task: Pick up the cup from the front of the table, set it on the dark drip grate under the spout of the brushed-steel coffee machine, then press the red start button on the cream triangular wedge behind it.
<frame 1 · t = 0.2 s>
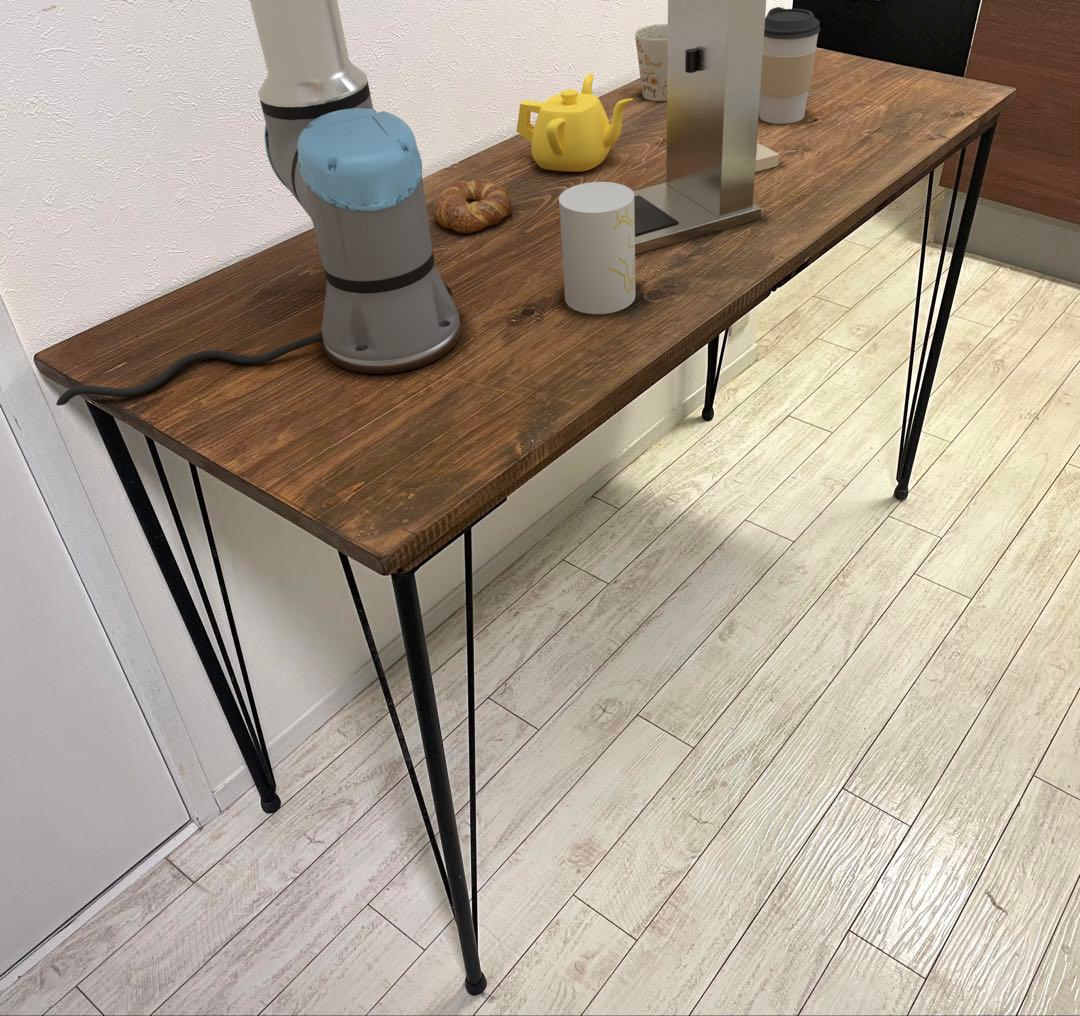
mug: (673, 95, 170), on the table
teapot: (578, 160, 151), on the table
cream triangular wedge: (732, 165, 145), on the table
start button: (733, 137, 142), point 4 cm above the table, slide at 0.1 cm
coffee machine: (671, 216, 133), on the table
pretzel: (473, 218, 137), on the table
coffee cup: (781, 117, 158), on the table
cup: (600, 298, 118), on the table
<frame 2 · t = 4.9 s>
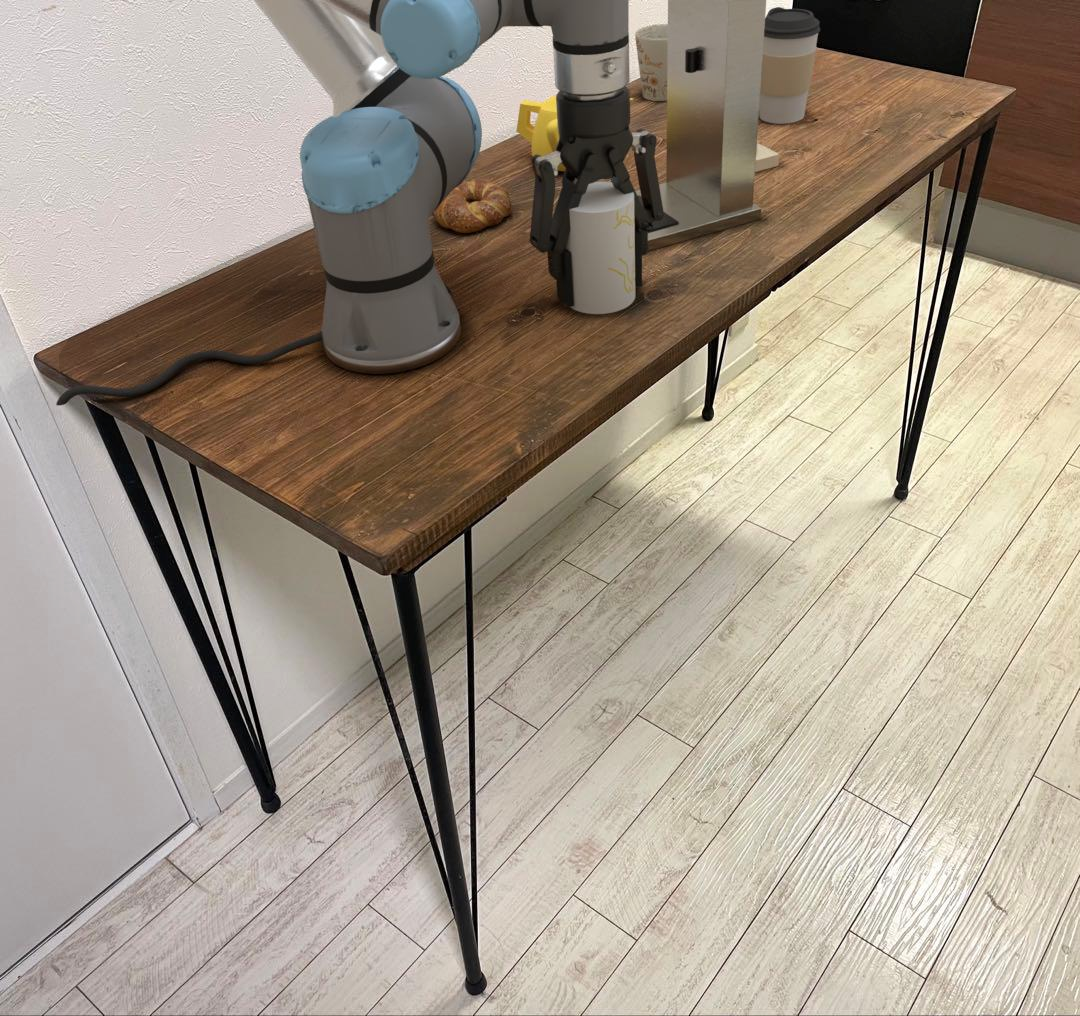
hand: (599, 291, 117), 1 cm above the table, tool pointing down, fingers closed on cup, 8 cm apart
cup: (600, 298, 118), on the table, touching gripper
everything else where it was.
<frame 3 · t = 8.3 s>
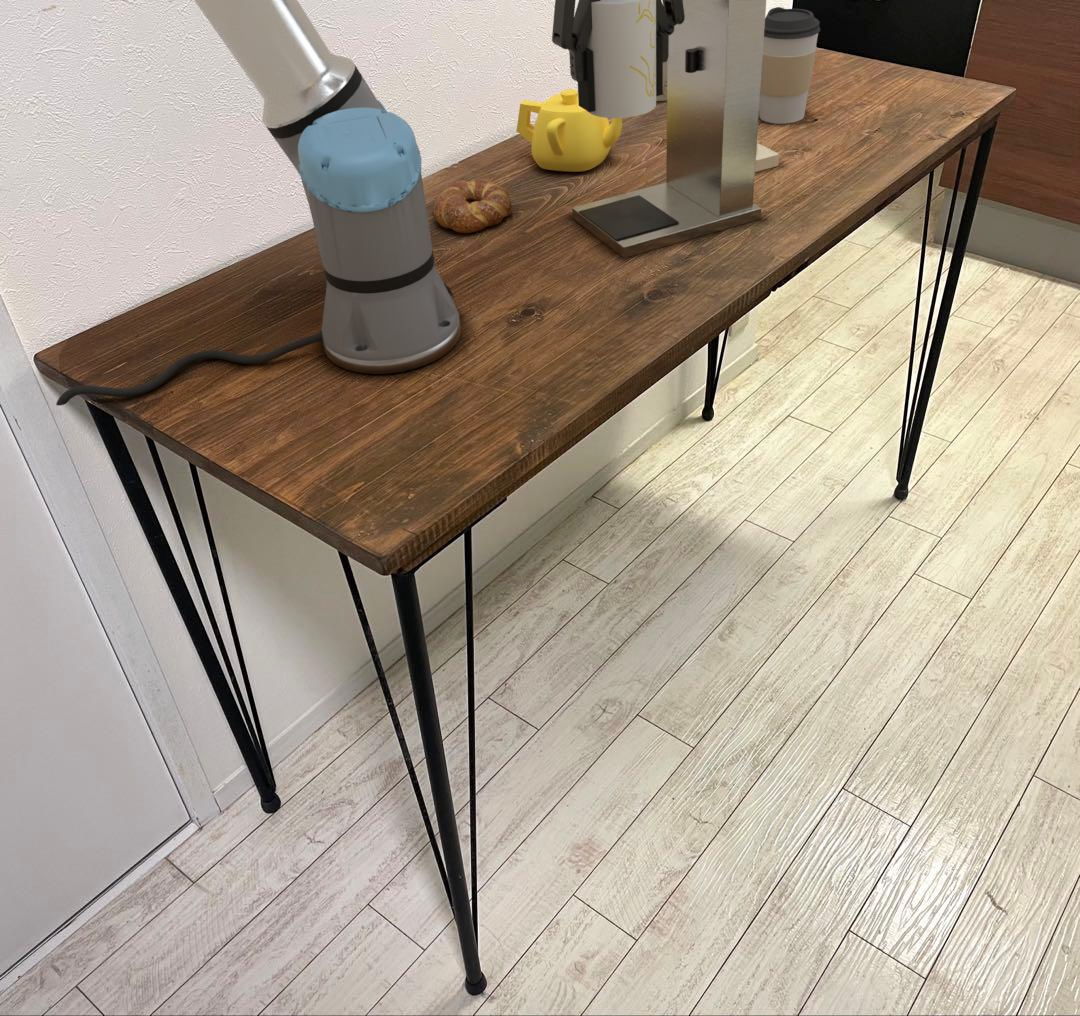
hand: (620, 100, 118), 17 cm above the table, tool pointing down, fingers closed on cup, 8 cm apart
cup: (621, 107, 119), point 16 cm above the table, touching gripper
everything else where it was.
when the fingers open (2 cm above the table, at t = 12.0 s): cup stays where it is, resting on coffee machine.
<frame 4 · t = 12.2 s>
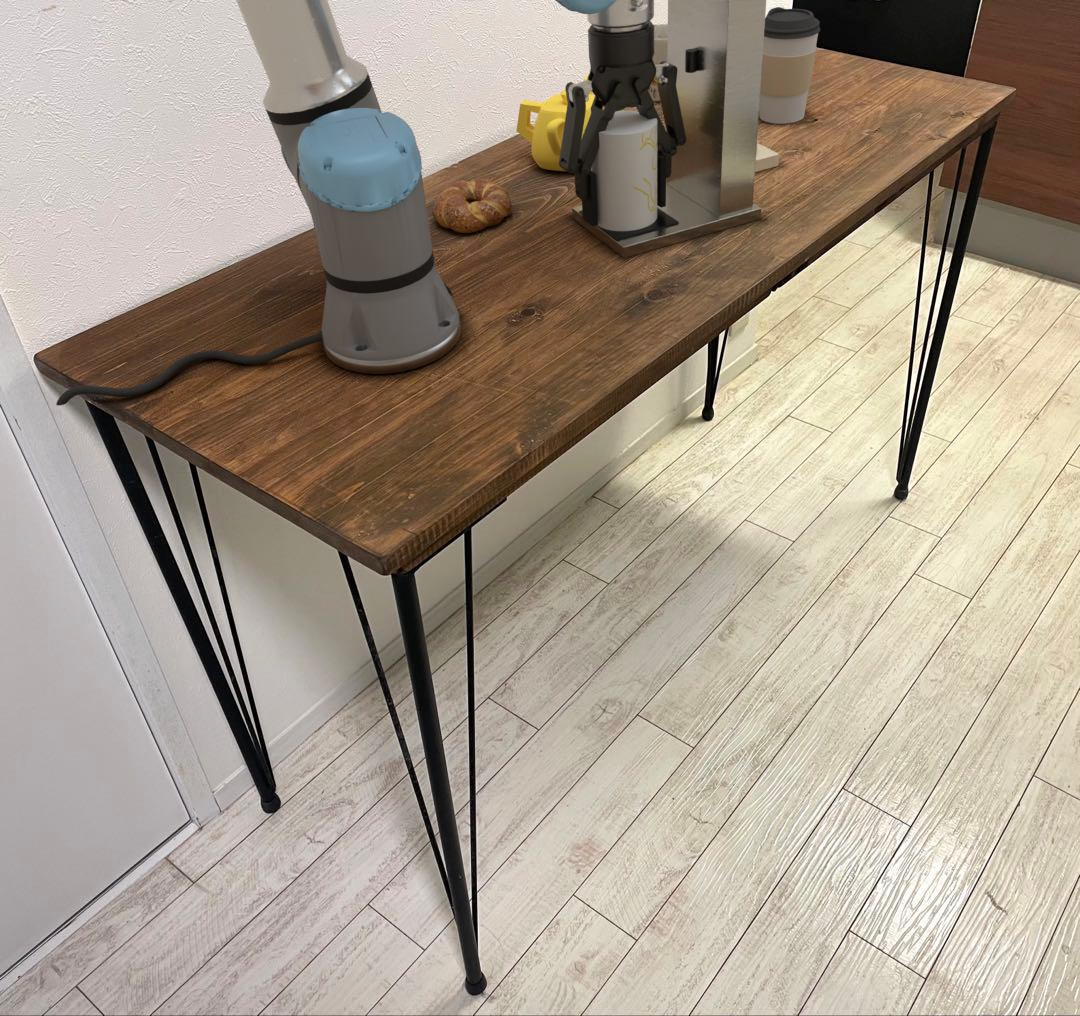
hand: (624, 212, 129), 2 cm above the table, tool pointing down, fingers open, 9 cm apart
cup: (625, 218, 130), point 2 cm above the table, touching coffee machine
everything else where it was.
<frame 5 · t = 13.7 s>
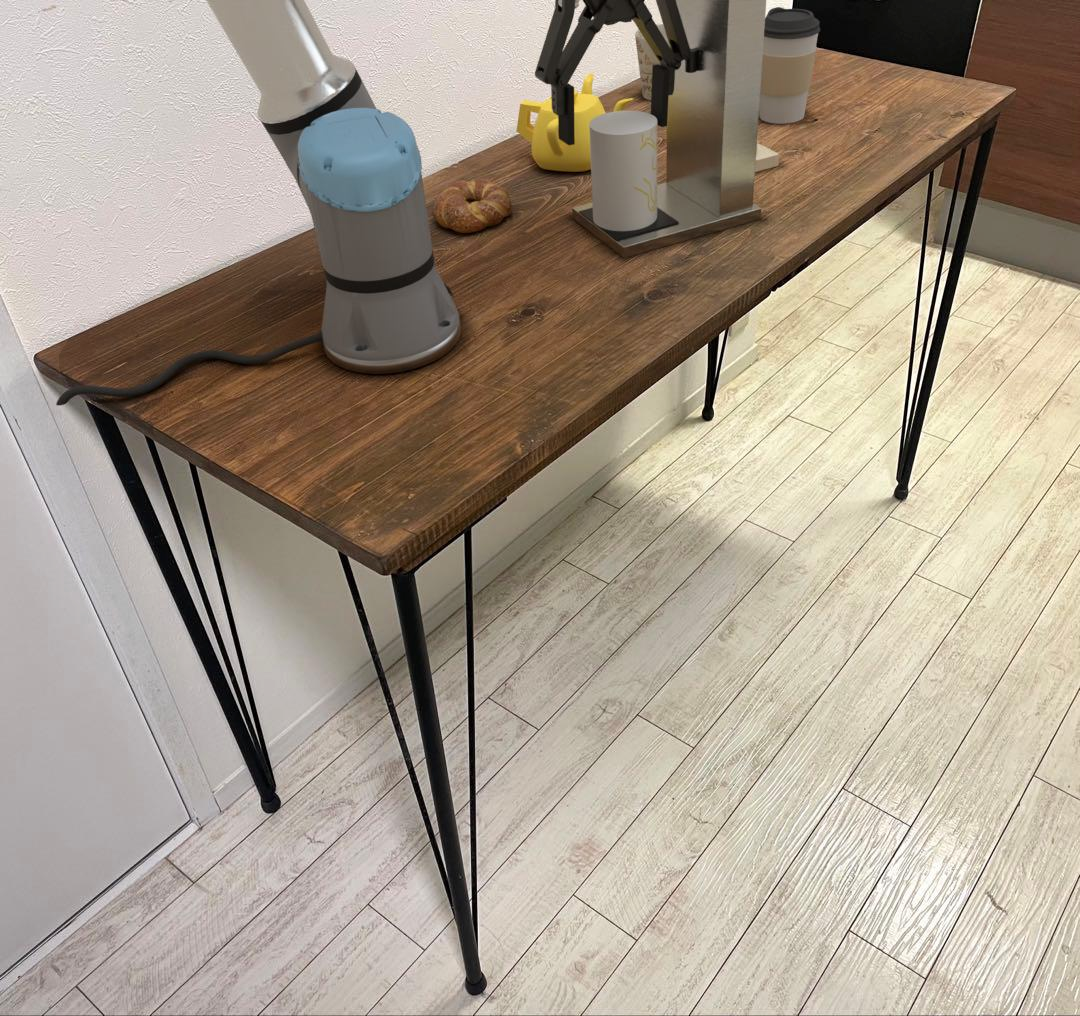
hand: (613, 132, 122), 13 cm above the table, tool pointing down, fingers open, 12 cm apart
nothing on the table moved.
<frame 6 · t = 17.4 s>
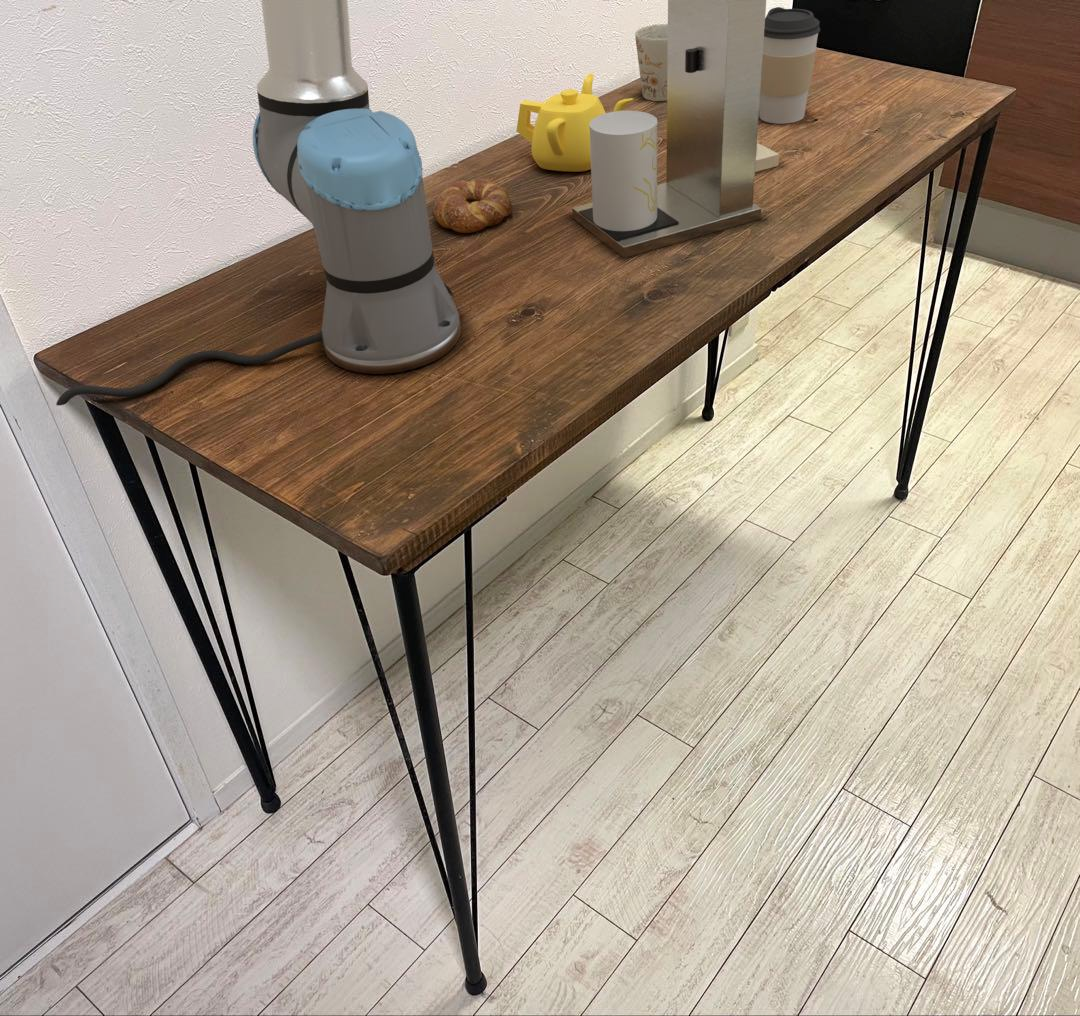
nothing on the table moved.
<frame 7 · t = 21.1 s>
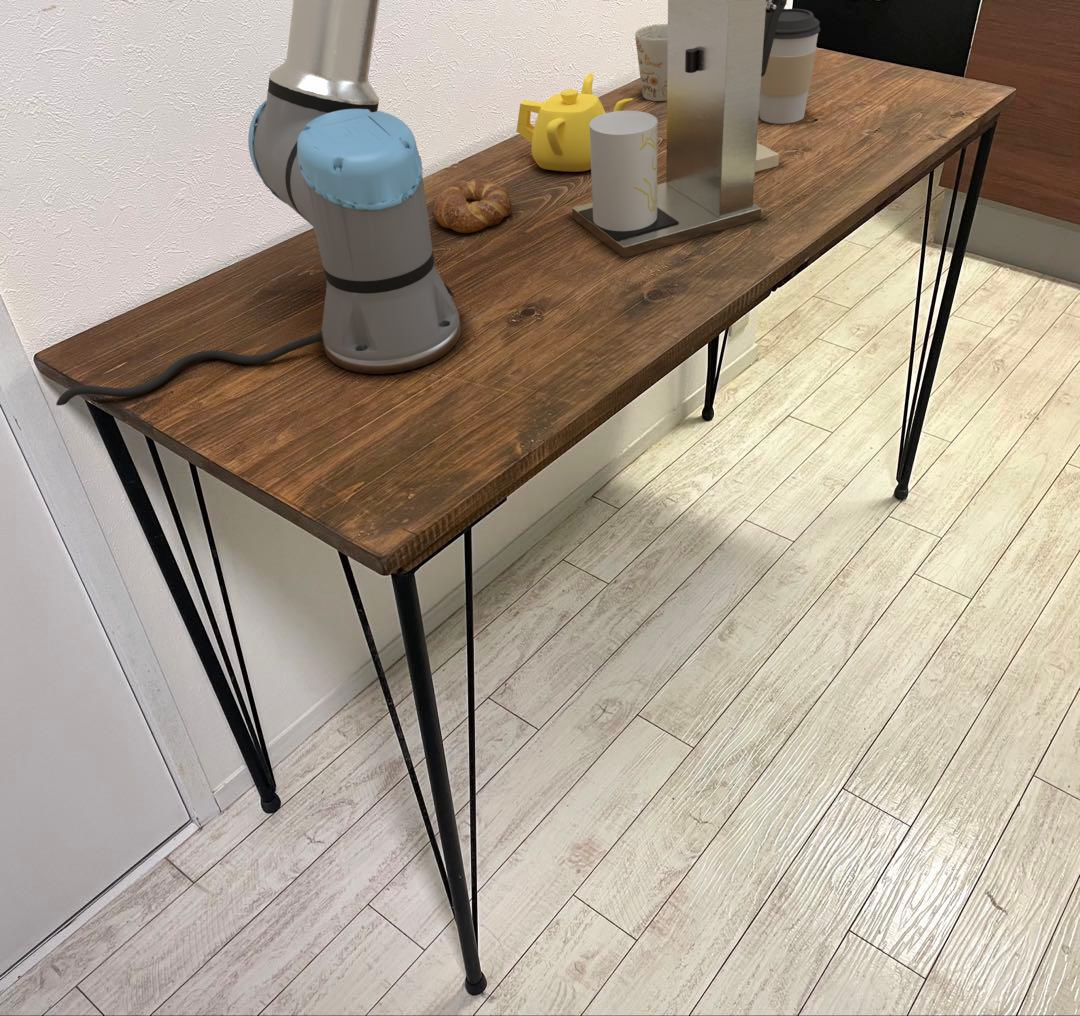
hand: (734, 132, 142), 5 cm above the table, tool pointing down, fingers closed
start button: (733, 141, 143), point 3 cm above the table, slide at -0.5 cm, touching gripper
everything else where it was.
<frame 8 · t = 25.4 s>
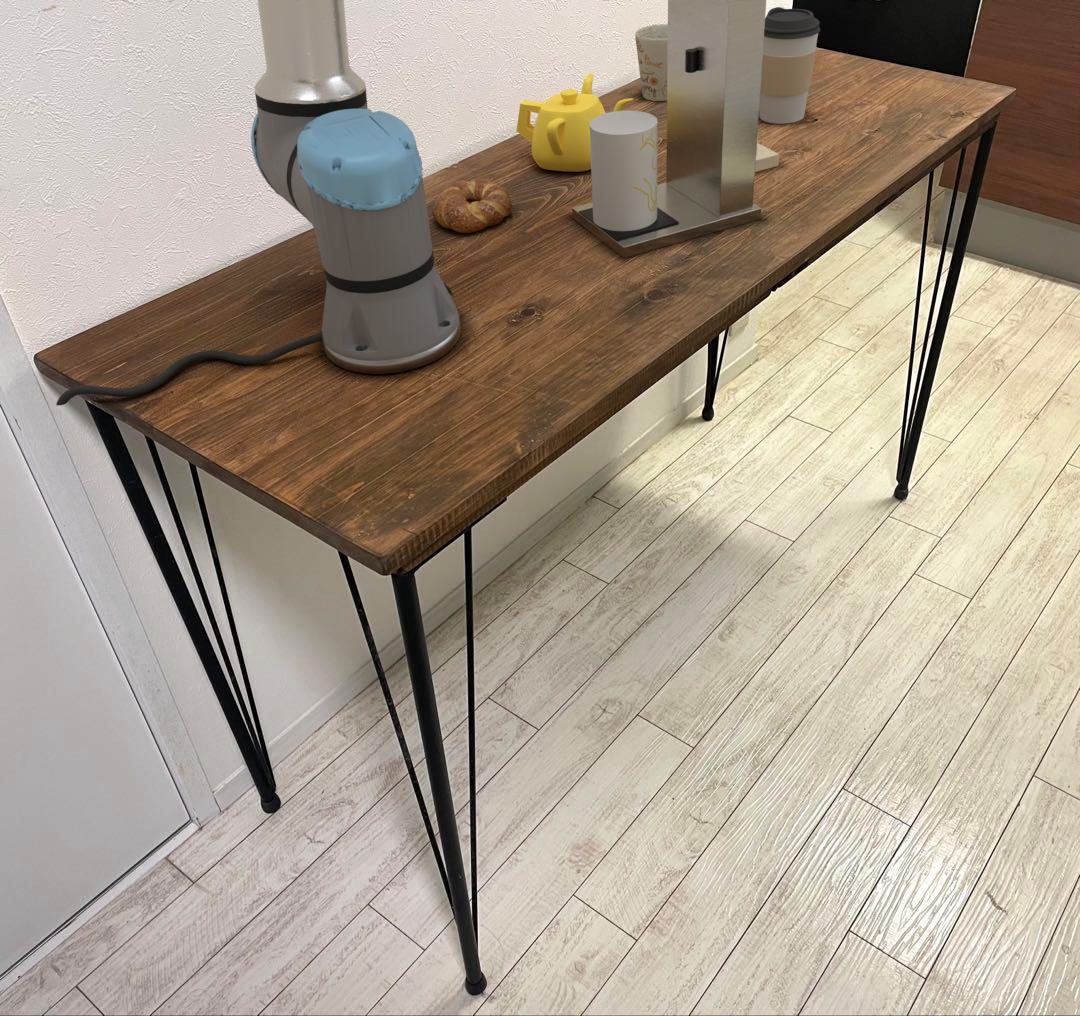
start button: (733, 137, 142), point 4 cm above the table, slide at 0.1 cm
everything else where it was.
at the end: cup 0.1 cm from the target spot on the coffee machine, point 1.5 cm above the coffee machine's base; cup tilted 0°; start button pushed in 1.0 cm at the most during the clip, back to where it started at the end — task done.
